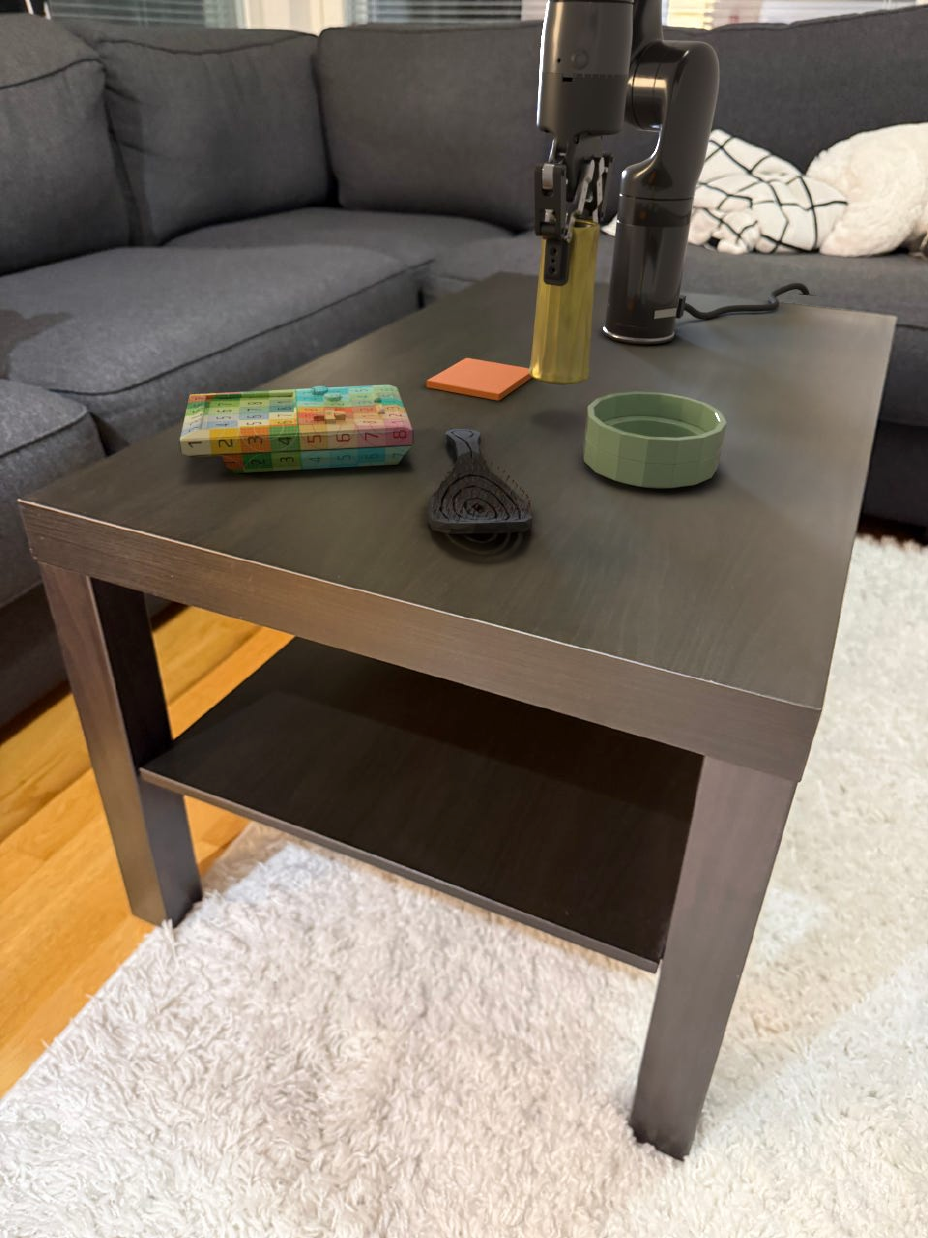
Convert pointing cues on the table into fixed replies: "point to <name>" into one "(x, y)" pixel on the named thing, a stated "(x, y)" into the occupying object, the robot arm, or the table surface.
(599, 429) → the bowl
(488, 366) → the square tile
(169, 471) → the table surface
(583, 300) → the vase
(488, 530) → the hairbrush
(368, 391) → the puzzle game
